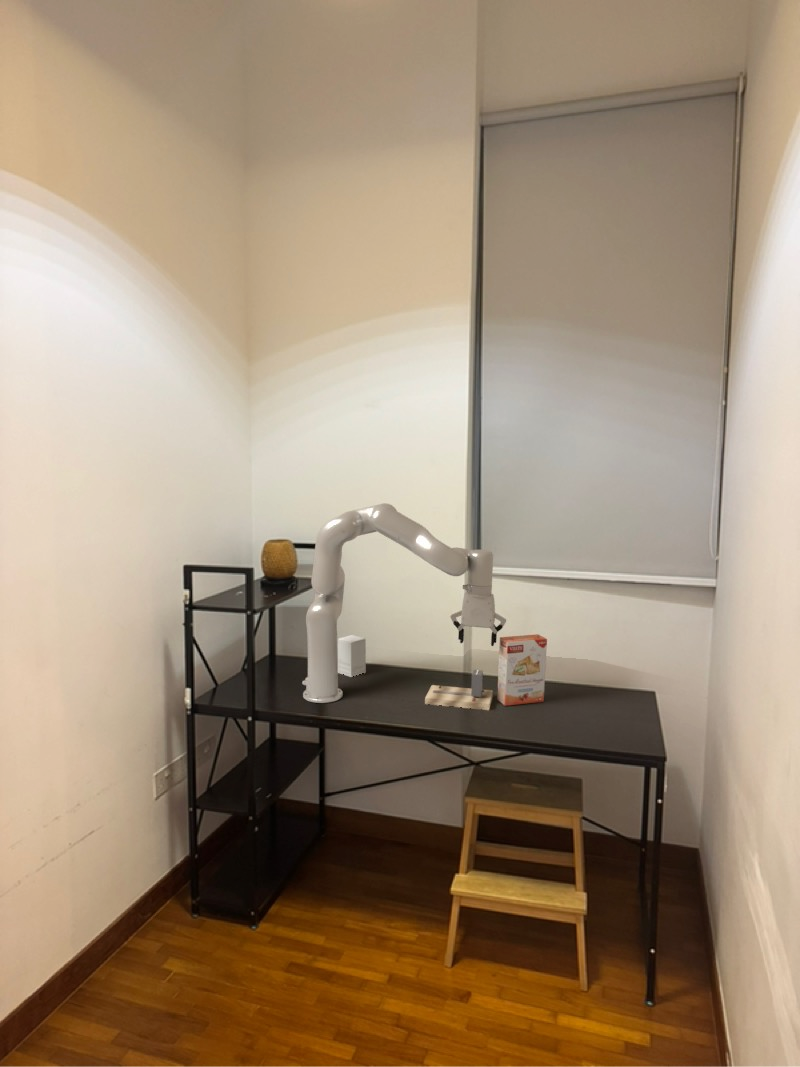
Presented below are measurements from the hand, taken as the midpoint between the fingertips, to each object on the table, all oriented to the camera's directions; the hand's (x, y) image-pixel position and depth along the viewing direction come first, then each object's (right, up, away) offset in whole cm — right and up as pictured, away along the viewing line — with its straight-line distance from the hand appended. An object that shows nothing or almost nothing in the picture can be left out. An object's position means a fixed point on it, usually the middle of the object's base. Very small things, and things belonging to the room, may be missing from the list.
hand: (477, 643), depth 215 cm
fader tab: (0, -16, +2) cm, 16 cm away
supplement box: (-41, -15, +29) cm, 52 cm away
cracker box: (+14, -19, +3) cm, 24 cm away
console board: (-5, -19, +4) cm, 20 cm away
